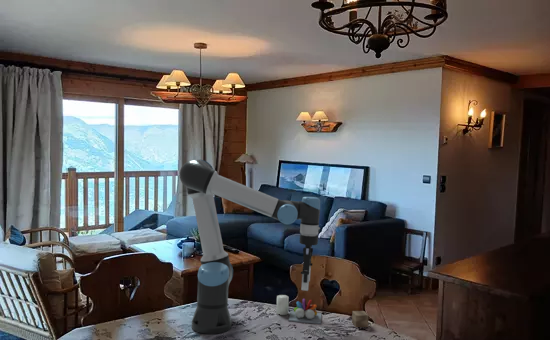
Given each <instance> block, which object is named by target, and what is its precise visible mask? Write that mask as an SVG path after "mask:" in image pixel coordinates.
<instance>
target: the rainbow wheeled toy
mask: <svg viewBox="0 0 550 340" xmlns="http://www.w3.org/2000/svg"><path fill="white" fill-rule="evenodd" d="M312 301H313V300H312V299H309V300H308V302H307V301H306V299H305V298H302V302H301V301H299V300H298V301H296V303H295V304H296V307H294V308H293V311H294V312H295V315H296V317H298V318H303V317H304V315H305V316H306V318H308V319H312V318H314V316H315V315H317V313H318V312H317V307H318V306H317V304H315V303H314V304H312Z"/></svg>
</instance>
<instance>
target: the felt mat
mask: <svg viewBox="0 0 550 340" xmlns="http://www.w3.org/2000/svg"><path fill="white" fill-rule="evenodd" d="M322 315H323V314H322V312H317V315H315V316H314V318H312V319H308V318H306V316H305V315H304V317H303V318H298V317H296V315H295V312H294V310H290V313H289V316H288V322H291V321H293V322H294V323H303V324H304V323H305V324H314V325H316V324H317V325H321V324H322Z"/></svg>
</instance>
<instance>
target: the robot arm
mask: <svg viewBox="0 0 550 340" xmlns="http://www.w3.org/2000/svg"><path fill="white" fill-rule="evenodd" d="M179 180H180V181H181V182H180V183H182V185H183V186H184V187H186V192H187V196H189V197H190V198H191V199H192V205H193V208H194V212H195V213H194V214H195V219H196V224H197V230H198V234H199V240H200V245H201V250H202V254H203V255H202V256H201V258H200V264H201V265H200V266H199V268H198V271H197V294H196V295H197V297H196V308H195V310H194V311H195V312H194V315H193V317H192V319H191V328H192V329H191V330H193V331H194V332H197V333H201V334H205V335H207V334H208V335H215V334H222V333H225V332H228V331H230V329H232V318H231V314H230V311H229V307H228V306H229V304H228V303H229V300H228V299H229V286H230V283H231V281H232V280H233V277H234V269H233V265H232V264H231V262H230V256H229V253H228V251H227V252H226V251H225V250H224V245H223V239H222V233H221V229H220V224H219V219H218V213H217V208H216V202H215V198H214V195H215V196H217V197H220V198H222V199H224V200H227V201H230V202H232V203H234V204H238V205H240V206H243V207H244V208H247V209H249V210H253V211H255V212H257V213H260V214H262V215H264V216H267V217H270V218H272V219H274V220H277V221H279V222H280V223H282V224H284V225H291V224H294V223H295V221H296V220H300V226H299V227H300V228H299V229H300V230H299V233H300V234H299V243H300V245H303V246H305V247H303V249H302V254H303V255H302V259H303V263H302V271H300V275H301V291H306V292H308V291H309V282H311V271H312V270H311V268H312V267H313V263H312V258H313V252H314V248H313V247H312V246H316V245H318V243H319V236H318V234H319V230H321V227H319V225H320V215H321V214H320V213H321V199H320V198H319V197H316V196H315V197H314V196H303V197H302V199H301V200H298V201H296V200H287V199H279V198H277V197H275V196H272V195H269V194H267V193H264V192H262V191H259V190H257V189H254V188H252V187H250V186H247V185H245V184H243V183H239V182H237V181H235V180H233V179H230V178H227V177H225V176H222V175H220V174H218V171H216V170H214V168H213V166H212V165H211V164H210V162H208V161H206V160H203V159H192V160H191V159H190V160H188V161H186V162H185V163H184V164H183V165H181V167H180V170H179Z"/></svg>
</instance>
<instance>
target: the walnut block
mask: <svg viewBox="0 0 550 340" xmlns="http://www.w3.org/2000/svg"><path fill="white" fill-rule="evenodd" d="M352 323H353V324H352ZM351 324H352V325H353V326H354V328H355V327H368V328H369V314H367V312H366V311H364V310H352V315H351Z"/></svg>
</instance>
